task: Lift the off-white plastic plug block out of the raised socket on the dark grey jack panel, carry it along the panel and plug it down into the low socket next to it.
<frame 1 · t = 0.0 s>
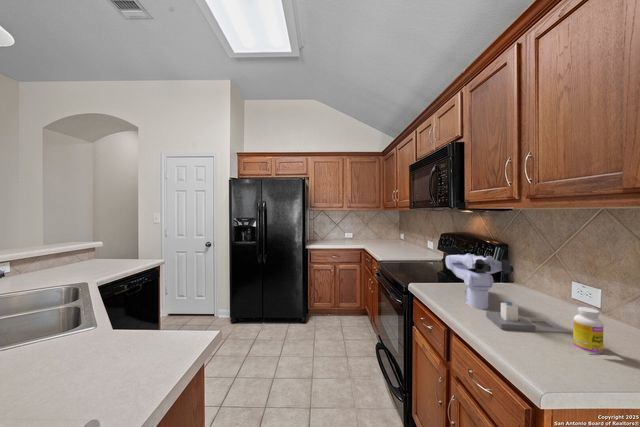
hand: (500, 268, 102), 22 cm above the counter, tool horizontal, fingers open, 7 cm apart
jack panel: (525, 326, 102), on the counter
plug block: (509, 323, 103), point 1 cm above the counter, touching jack panel
supplement bottle: (587, 351, 85), on the counter
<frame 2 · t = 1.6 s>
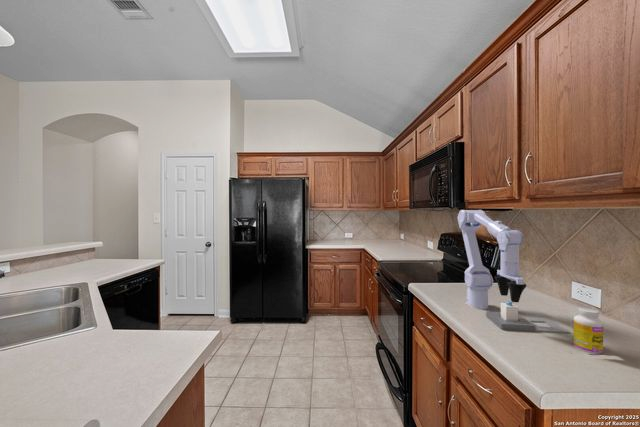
hand: (509, 298, 103), 10 cm above the counter, tool pointing down, fingers open, 7 cm apart
nothing on the counter moved.
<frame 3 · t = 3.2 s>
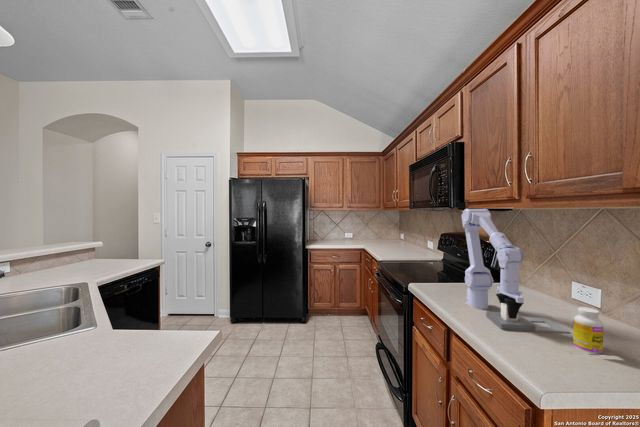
hand: (509, 315, 103), 4 cm above the counter, tool pointing down, fingers closed on plug block, 4 cm apart
plug block: (509, 323, 103), point 1 cm above the counter, touching gripper, jack panel
everything else where it was.
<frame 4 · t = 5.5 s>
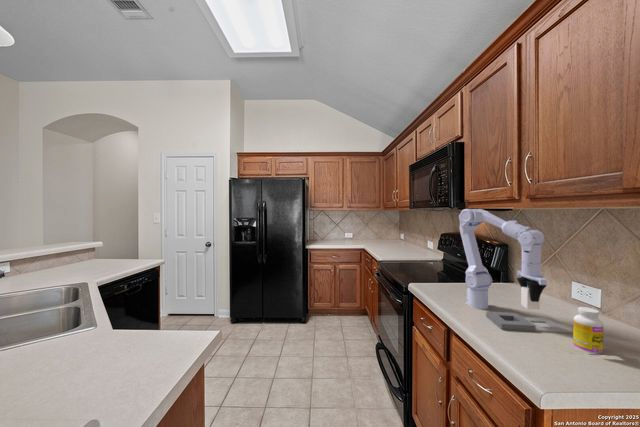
hand: (530, 299, 102), 10 cm above the counter, tool pointing down, fingers closed on plug block, 4 cm apart
plug block: (530, 307, 102), point 7 cm above the counter, touching gripper
everything else where it was.
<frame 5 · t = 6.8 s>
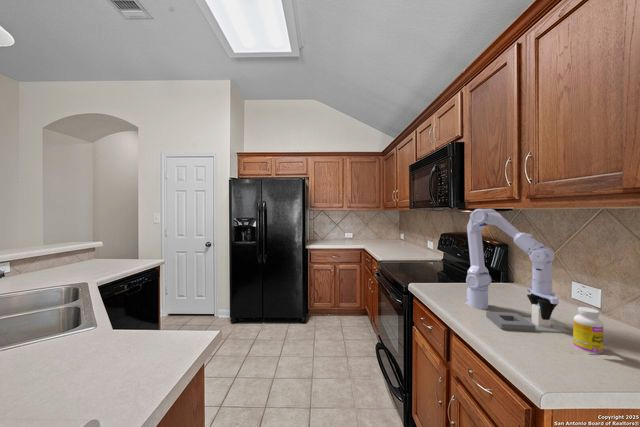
hand: (541, 316, 101), 4 cm above the counter, tool pointing down, fingers closed on plug block, 4 cm apart
plug block: (540, 324, 102), point 1 cm above the counter, touching gripper
everything else where it was.
when the fingers open (3 cm above the counter, at t = 7.8 s): plug block stays where it is, resting in jack panel.
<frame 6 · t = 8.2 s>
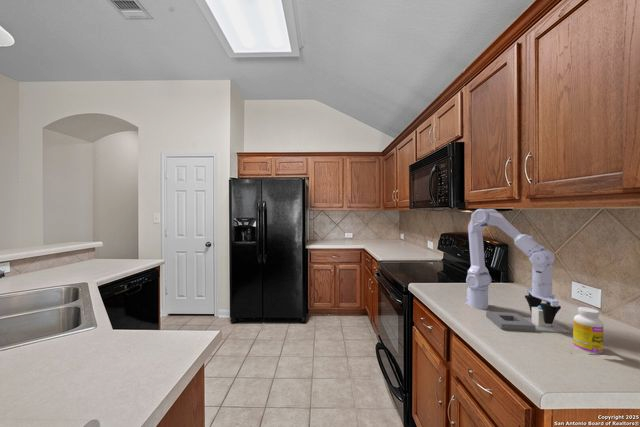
hand: (541, 319, 102), 3 cm above the counter, tool pointing down, fingers open, 7 cm apart
plug block: (540, 327, 102), resting in jack panel
everything else where it was.
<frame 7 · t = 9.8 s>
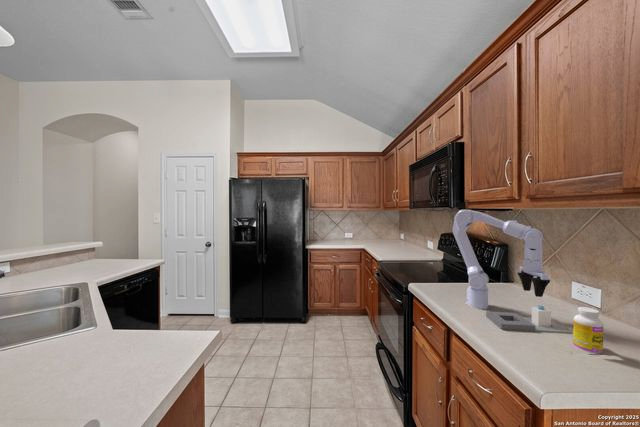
hand: (532, 293, 109), 10 cm above the counter, tool pointing down, fingers open, 7 cm apart
nothing on the counter moved.
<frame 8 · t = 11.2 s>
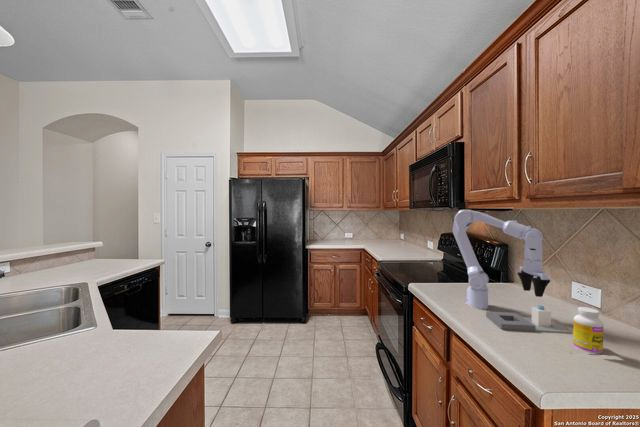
hand: (532, 293, 109), 10 cm above the counter, tool pointing down, fingers open, 7 cm apart
nothing on the counter moved.
at the end: plug block 0.2 cm from the target spot on the jack panel, point 0.0 cm above the jack panel's base; plug block tilted 0°; the gripper is holding nothing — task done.
